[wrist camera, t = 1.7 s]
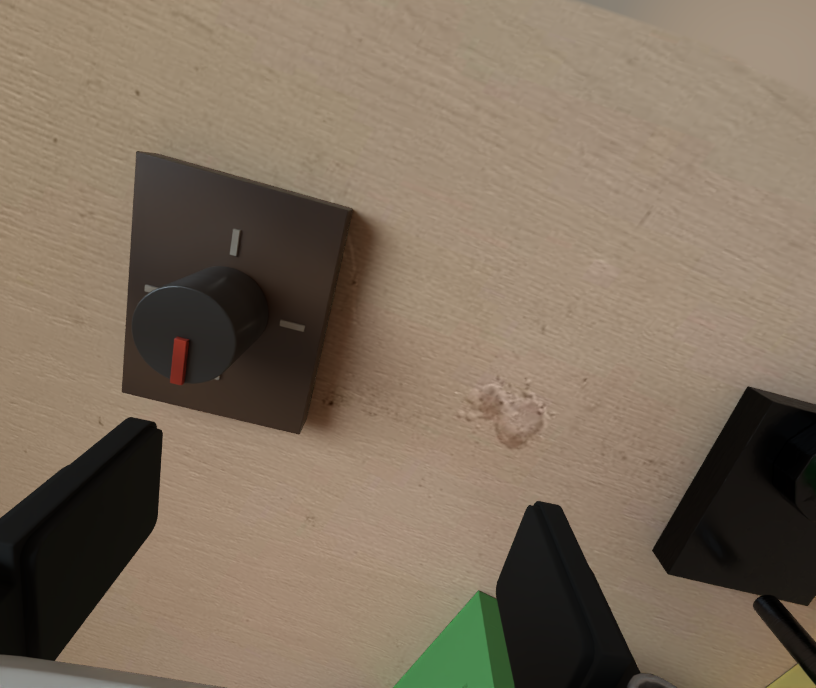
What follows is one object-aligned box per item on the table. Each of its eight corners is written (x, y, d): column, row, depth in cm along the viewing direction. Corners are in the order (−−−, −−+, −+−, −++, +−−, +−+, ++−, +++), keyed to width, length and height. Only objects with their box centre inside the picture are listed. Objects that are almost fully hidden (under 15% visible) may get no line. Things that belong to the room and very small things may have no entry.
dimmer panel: (157, 153, 24) (134, 150, 22) (353, 208, 25) (347, 210, 23) (140, 379, 29) (119, 393, 27) (306, 419, 30) (298, 436, 28)
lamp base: (749, 382, 29) (800, 412, 25) (899, 422, 30) (970, 457, 26) (651, 550, 33) (682, 596, 30) (783, 581, 34) (829, 629, 30)
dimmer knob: (187, 255, 24) (129, 274, 19) (275, 278, 25) (240, 303, 20) (179, 336, 26) (123, 372, 21) (261, 357, 26) (226, 397, 21)
